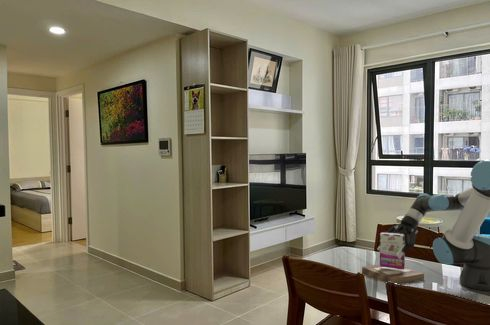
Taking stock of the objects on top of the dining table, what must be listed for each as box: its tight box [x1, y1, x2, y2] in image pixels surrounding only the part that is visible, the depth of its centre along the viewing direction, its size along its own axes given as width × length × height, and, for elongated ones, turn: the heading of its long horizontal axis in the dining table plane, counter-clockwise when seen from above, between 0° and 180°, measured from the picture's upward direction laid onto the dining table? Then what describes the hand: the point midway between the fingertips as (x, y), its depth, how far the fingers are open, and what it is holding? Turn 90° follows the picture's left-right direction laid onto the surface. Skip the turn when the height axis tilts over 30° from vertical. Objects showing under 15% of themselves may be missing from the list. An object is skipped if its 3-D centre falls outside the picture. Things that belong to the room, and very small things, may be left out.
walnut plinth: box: [361, 263, 425, 285], centre depth 179 cm, size 20×20×3 cm
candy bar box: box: [379, 231, 406, 269], centre depth 179 cm, size 11×5×16 cm, turn 61°
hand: (388, 253), depth 178 cm, fingers closed on candy bar box, 11 cm apart
